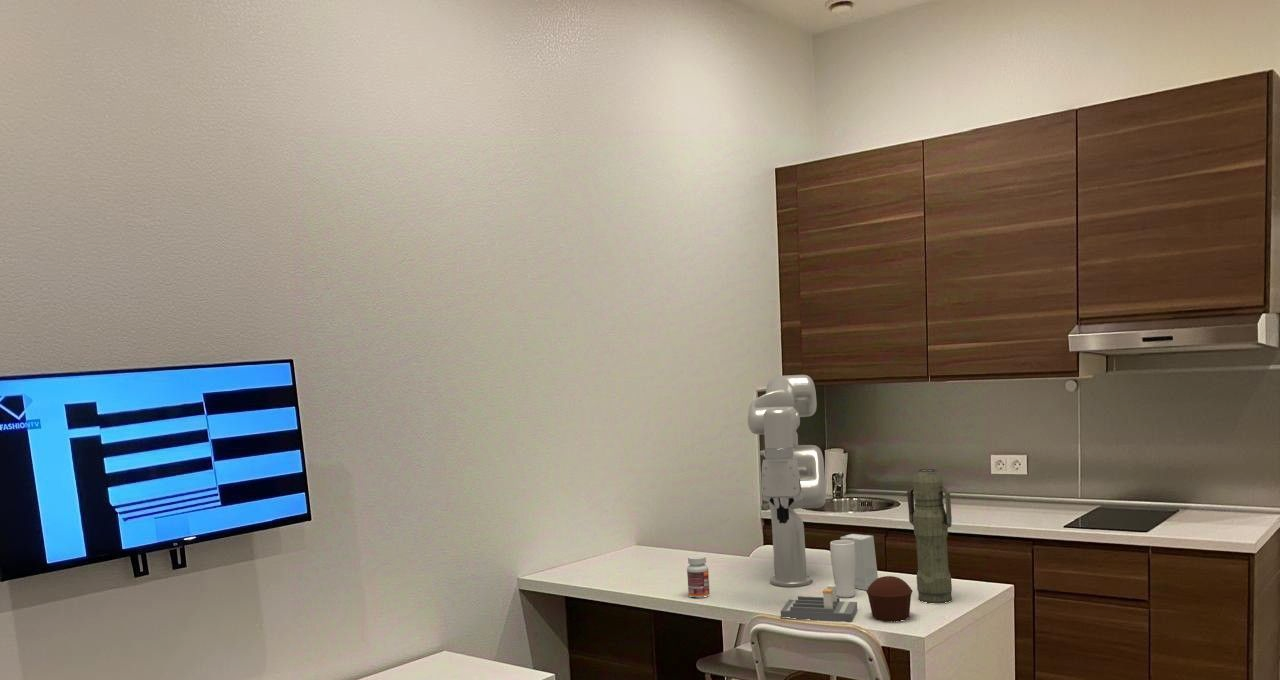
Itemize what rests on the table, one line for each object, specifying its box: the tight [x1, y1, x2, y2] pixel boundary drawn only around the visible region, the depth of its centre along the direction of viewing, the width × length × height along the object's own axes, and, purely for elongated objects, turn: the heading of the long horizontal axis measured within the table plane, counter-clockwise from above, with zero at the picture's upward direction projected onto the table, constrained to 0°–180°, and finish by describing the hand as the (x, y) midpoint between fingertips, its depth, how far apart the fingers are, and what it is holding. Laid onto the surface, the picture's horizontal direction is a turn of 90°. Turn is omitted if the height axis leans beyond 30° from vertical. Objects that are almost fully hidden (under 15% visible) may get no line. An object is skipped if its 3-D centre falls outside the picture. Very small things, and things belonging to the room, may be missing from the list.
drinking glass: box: [829, 539, 856, 599], centre depth 257 cm, size 7×7×15 cm
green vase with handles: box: [906, 468, 953, 604], centre depth 248 cm, size 9×12×35 cm
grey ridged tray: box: [780, 583, 858, 623], centre depth 239 cm, size 12×18×7 cm, turn 70°
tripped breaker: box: [822, 588, 833, 608], centre depth 235 cm, size 2×2×5 cm
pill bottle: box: [686, 554, 711, 598], centre depth 265 cm, size 6×6×11 cm
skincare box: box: [839, 533, 879, 591], centre depth 266 cm, size 8×6×15 cm
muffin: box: [865, 575, 913, 623], centre depth 233 cm, size 12×11×10 cm
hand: (783, 522), depth 247 cm, fingers closed
